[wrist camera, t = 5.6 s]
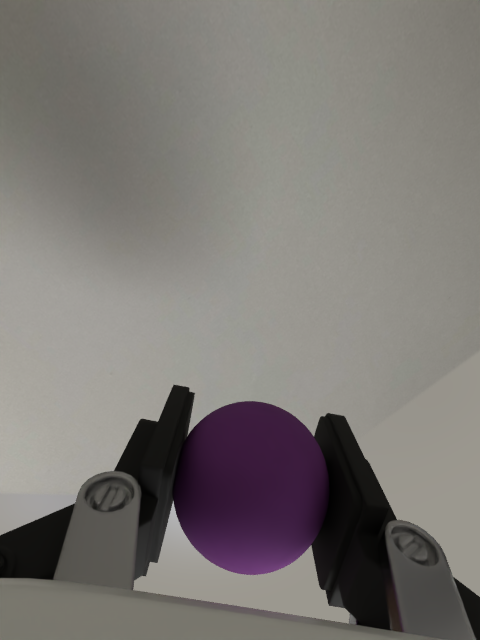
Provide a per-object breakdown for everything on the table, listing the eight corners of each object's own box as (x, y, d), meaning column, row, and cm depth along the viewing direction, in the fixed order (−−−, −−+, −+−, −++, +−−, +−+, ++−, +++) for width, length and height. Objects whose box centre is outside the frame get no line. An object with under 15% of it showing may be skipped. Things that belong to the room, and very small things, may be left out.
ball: (328, 389, 12) (374, 490, 7) (296, 494, 13) (320, 630, 9) (197, 364, 11) (168, 453, 7) (177, 474, 13) (144, 603, 9)
